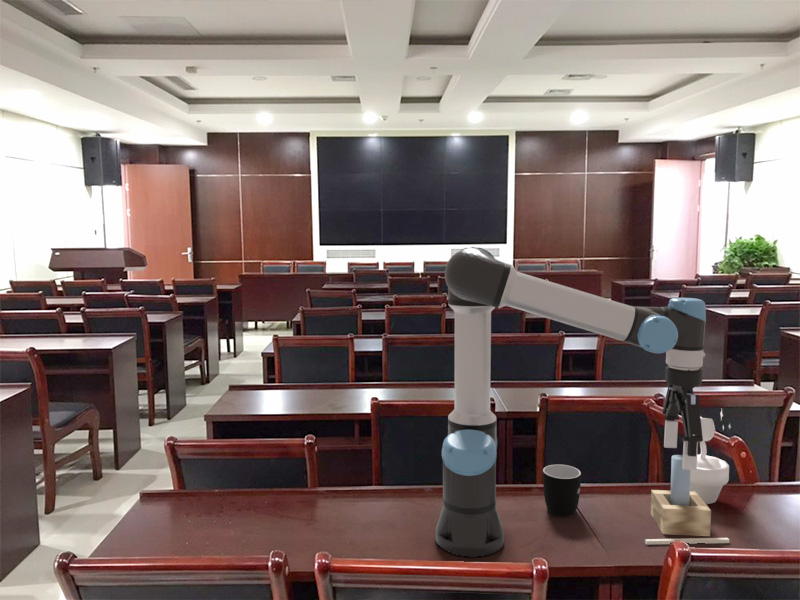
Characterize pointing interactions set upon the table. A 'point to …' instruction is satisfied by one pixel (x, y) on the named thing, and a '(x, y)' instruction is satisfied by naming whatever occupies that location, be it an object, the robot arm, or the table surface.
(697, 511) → the wooden box
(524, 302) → the robot arm
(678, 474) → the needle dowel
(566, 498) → the mug
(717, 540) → the white thin rod
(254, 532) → the table surface
